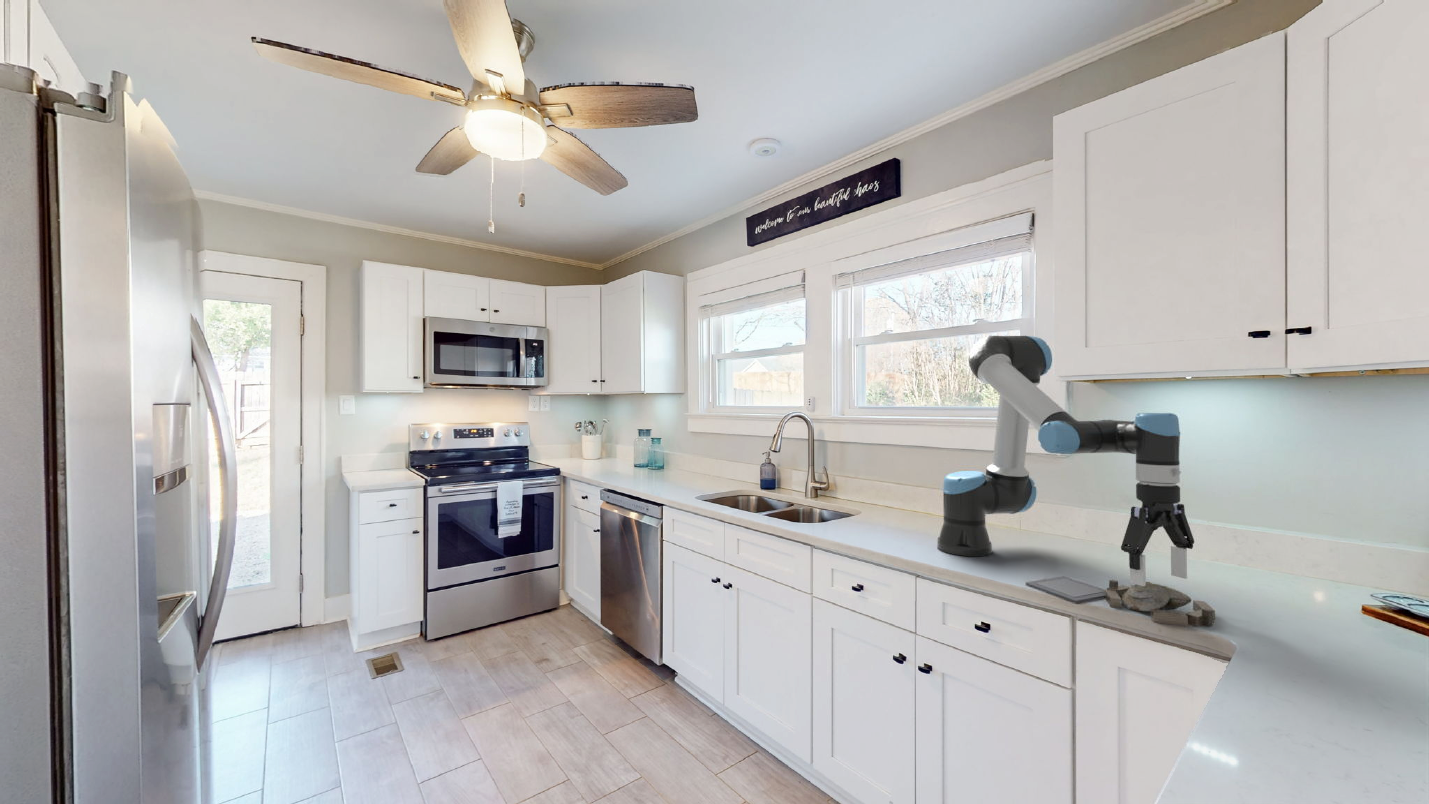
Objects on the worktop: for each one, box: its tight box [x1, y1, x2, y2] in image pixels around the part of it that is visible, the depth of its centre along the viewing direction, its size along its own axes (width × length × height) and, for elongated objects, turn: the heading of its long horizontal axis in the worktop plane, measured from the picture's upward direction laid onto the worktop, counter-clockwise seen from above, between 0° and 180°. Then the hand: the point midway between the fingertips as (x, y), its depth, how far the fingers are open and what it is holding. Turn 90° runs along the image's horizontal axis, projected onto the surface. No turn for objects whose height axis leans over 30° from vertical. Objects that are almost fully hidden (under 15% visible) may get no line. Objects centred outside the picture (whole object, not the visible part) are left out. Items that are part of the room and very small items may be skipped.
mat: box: [1025, 575, 1106, 604], centre depth 133 cm, size 13×13×1 cm
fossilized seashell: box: [1121, 581, 1192, 612], centre depth 121 cm, size 11×11×7 cm
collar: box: [1104, 579, 1216, 628], centre depth 121 cm, size 20×17×3 cm
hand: (1158, 580), depth 120 cm, fingers open, 13 cm apart
